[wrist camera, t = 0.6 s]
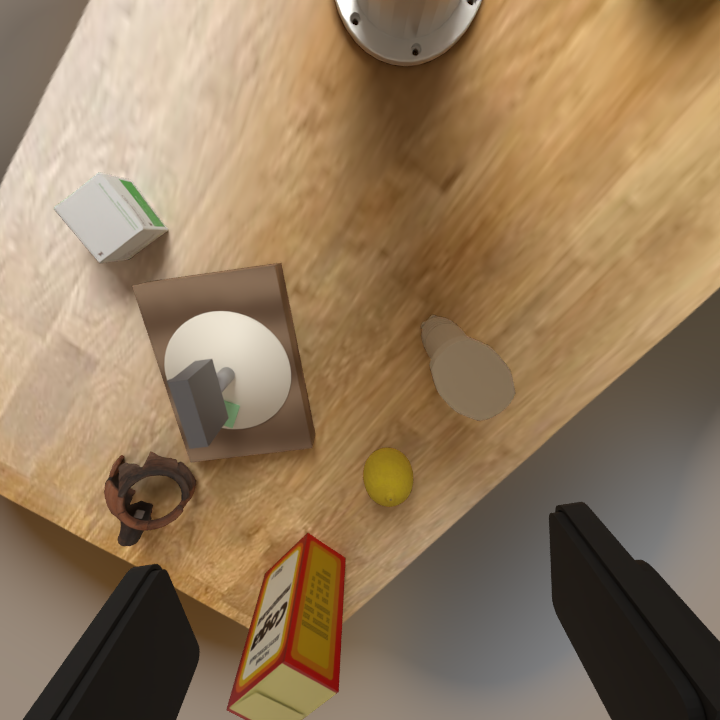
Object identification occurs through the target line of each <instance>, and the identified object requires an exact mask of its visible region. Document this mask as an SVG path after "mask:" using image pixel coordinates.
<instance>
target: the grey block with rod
mask: <svg viewBox="0 0 720 720" xmlns="http://www.w3.org/2000/svg"><path fill="white" fill-rule="evenodd" d="M234 377H235V373H234V371H233V370H232V369H231V368H228V367H224V368H222V369H221V370H220V371H219V372H218V373H216V371H215V367H214V364H213V360H212V359H206V360H199V361H194V362H193V363H192V364H190V365H189V366H188V367H187V368H185V369H184V370H183V371H181V372H180V373H179V374H178V375H176V376H175V377H174V378H172V379H168V380H167V383H168V387H169V388H170V391H171V394H172V397H173V400H174V403H175V406H176V409H177V412H178V415H179V418H180V421H181V424H182V427H183V430H184V433H185V436H186V440H187V443H188V446H189V449H193V448H201V447H208V446H209V445H210V444H211V442H212V441H213V439H214V438H215V437H216V435H217V434H218V432H219V431H220V430H221V428H222V427H223V425H224V424H225V423H226V421H227V420H228V418H229V417H228V413H227V410H226V406H225V403H224V399H223V396H222V392H223V391H224V390H225V388H226V387H227V386H228V385H229V384H230V383H231V382H232V380H233V379H234Z"/></svg>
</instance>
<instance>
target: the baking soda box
mask: <svg viewBox="0 0 720 720" xmlns="http://www.w3.org/2000/svg"><path fill="white" fill-rule="evenodd" d="M344 577H345V557H343V556H342V555H340V554H339V553H337V552H336V551H334V550H333V549H331V548H330V547H328V546H327V545H325V544H324V543H322V542H321V541H319V540H318V539H316V538H315V537H313V536H312V535H310V534H309V533H307V534H306V535H305V536H304V537H303V538H302V539H301V540H300V541H299V542H298V543H297V544H296V545H295V546H293V547H292V548H291V549H290V550H289V551H288V552H287V553H286V554H285V555H284V556H283V557H282V558H281V559H280V560H279V561H278V562H277V563H276V564H275V565H274V566H273V567H272V568H270V569H269V570H268V571H267V572H266V573H265V576H264V579H263V583H262V586H261V590H260V593H259V597H258V600H257V604H256V608H255V611H254V615H253V618H252V622H251V625H250V629H249V632H248V636H247V640H246V643H245V646H244V650H243V653H242V657H241V660H240V664H239V667H238V671H237V675H236V678H235V682H234V685H233V689H232V692H231V696H230V699H229V703H228V706H227V711H229V712H231V713H233V714H235V715H237V716H239V717H241V718H243V719H245V720H302V719H304V718H305V717H306V716H308V715H309V714H310V713H311V712H313V711H314V710H315V709H317V708H318V707H319V706H321V705H322V704H323V703H325V702H326V701H327V700H329V699H330V698H331V697H332V696H334V695H335V694H336V693H337V692H339V673H340V653H341V635H342V616H343V596H344Z"/></svg>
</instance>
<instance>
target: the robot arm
mask: <svg viewBox="0 0 720 720" xmlns="http://www.w3.org/2000/svg"><path fill="white" fill-rule="evenodd" d="M468 1H470V2H471V3H472V5H469V4H468V3H467V2H468ZM335 2H336V6H337V9H338V13H339V15H340V17H341V19H342V21H343V23H344V26H345V28H346V29H347V31H348V32H349V34H350V35H351V36H352V38H353V39H354V41H355V42H356V43H357V44H358V45H359V46H360V47H361V48H362V49H363V50H364V51H366V52H367V53H368V54H370V55H372V56H373V57H375V58H376V59H378V60H380V61H383V62H386V63H389V64H391V65H400V66H411V65H420V64H422V63H425V62H428V61H431V60H434V59H435V58H437V57H439V56H440V55H442V54H444V53H445V52H446V51H448V50H449V49H450V48H451V47H452V46H453V45H454V44H455V43H457V42H458V40H459V39H460V38H461V37H462V35H463V34H464V33H465V31H466V30H467V29H468V27H469V25H470V24H471V22H472V20H473V18H474V17H475V15H476V13H477V11H478V8H479V6H480V4H481V2H482V0H335ZM354 21H357V22H358V25H356V26H355V25H353V24H352V23H353V22H354ZM413 51H416V52H417V53H418V55H417V56H414V55H413V54H412V52H413ZM549 527H550V528H549V530H550V553H551V554H550V555H551V582H552V601H553V605H554V609H555V612H556V614H557V616H558V618H559V620H560V622H561V624H562V626H563V628H564V630H565V632H566V634H567V636H568V638H569V639H570V641H571V643H572V645H573V647H574V649H575V651H576V653H577V655H578V657H579V659H580V660H581V662H582V664H583V666H584V668H585V670H586V672H587V674H588V676H589V678H590V679H591V681H592V683H593V685H594V687H595V689H596V691H597V693H598V695H599V697H600V699H601V700H602V702H603V704H604V706H605V708H606V710H607V712H608V714H609V716H610V718H611V719H612V720H720V641H719V640H718V639H717V638H716V637H715V636H714V635H713V634H712V633H711V632H710V630H708V628H707V627H706V626H705V625H704V624H703V623H702V622H701V620H700V619H699V618H698V617H697V616H696V615H695V614H694V613H693V611H692V610H691V609H690V608H689V607H688V606H687V605H686V604H685V603H684V601H683V600H682V599H681V598H680V597H679V596H678V595H677V594H676V593H675V591H674V590H673V589H672V588H671V587H670V586H669V585H668V584H667V583H666V581H665V580H664V579H663V578H662V577H661V576H660V575H659V574H658V573H657V571H655V569H654V568H653V567H652V566H650V565H649V564H648V563H647V562H645V561H643V560H634V559H633V558H632V557H631V555H630V554H629V553H628V552H627V551H626V550H625V548H624V547H623V546H622V545H621V544H620V543H619V541H618V540H617V539H616V538H615V537H614V536H613V534H611V532H610V531H609V530H608V529H607V528H606V526H605V525H604V524H603V523H602V522H601V521H600V519H599V518H598V517H597V516H596V515H595V514H594V512H592V510H591V509H590V508H589V507H588V506H587V505H586V504H585V503H583V502H577V503H571V504H563V505H558V506H556V511H555V513H550V515H549ZM198 660H199V645H198V643H197V640H196V638H195V636H194V634H193V631H192V629H191V626H190V624H189V621H188V619H187V617H186V615H185V612H184V610H183V607H182V605H181V603H180V600H179V598H178V595H177V593H176V591H175V589H174V586H173V584H172V581H171V579H170V577H169V574H168V572H167V571H166V570H165V569H163V570H162V568H161V566H160V565H158V564H152V565H146V566H139V567H133V568H131V569H130V570H129V571H128V572H127V573H126V575H125V576H124V577H123V579H122V580H121V582H120V583H119V585H118V586H117V587H116V589H115V590H114V592H113V593H112V594H111V596H110V597H109V599H108V600H107V601H106V603H105V604H104V606H103V607H102V608H101V610H100V611H99V613H98V614H97V616H96V617H95V618H94V620H93V621H92V623H91V624H90V625H89V627H88V628H87V630H86V631H85V632H84V634H83V635H82V637H81V638H80V640H79V641H78V642H77V644H76V645H75V647H74V648H73V649H72V651H71V652H70V654H69V655H68V656H67V658H66V659H65V661H64V662H63V664H62V665H61V666H60V668H59V669H58V671H57V672H56V673H55V675H54V676H53V678H52V679H51V680H50V682H49V683H48V685H47V686H46V687H45V689H44V690H43V692H42V693H41V695H40V696H39V698H38V699H37V700H36V702H35V703H34V704H33V706H32V707H31V709H30V710H29V711H28V713H27V714H26V716H25V717H24V718H23V720H176V718H177V716H178V713H179V710H180V708H181V705H182V703H183V700H184V698H185V695H186V693H187V690H188V687H189V685H190V682H191V680H192V677H193V675H194V672H195V669H196V667H197V664H198Z"/></svg>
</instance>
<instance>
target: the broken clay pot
mask: <svg viewBox="0 0 720 720" xmlns="http://www.w3.org/2000/svg"><path fill="white" fill-rule="evenodd" d="M123 458H124V456H123V455H121V456H120V457H119V458H118V459H117V460H116V462H115V463H114V464H113V466H112V469H111V471H110V475H109V478H108V480H107V481H106V483H105V490H104V494H105V499H106V503H107V506H108V508H109V510H110V511H111V513H112V514H113V515H115V516H116V517H117V518H118V519H119V520H120V521H121V530H120V534H119V536H118V543H119V544H120V545H121V546H132V545H134V544H136V543H137V542H138V540H139V539H140V537H141V535H142V533H143V531H144V530H152V529H157V528H160V527H163V526H166V525H168V524H169V523H171V522H173V521H174V520H175V519H177V518H178V517H179V516H180V514H181V513H182V512H183V508H184V506H185V505H186V503H187V502H188V501H189V500H190V499H191V498H192V495H193V493H194V490H195V486H196V480H195V478H194V476H193V474H192V473H191V471H190V470H189V468H188V467H187V466H186V465H185V464H184V463H182V462H179V463H177V460H175V459H172V458H164V457H161V456H158V455H157V454H155V453H153V452H150V454H149V456H148V458H147V460H146V462H145V464H144V466H143V467H140V466H139V465H137V464H128V463H123V464H122V465H120V464H121V462H122V460H123ZM156 475H162V476H168V477H170V478H172V479H174V480H175V481H176V482H177V483H178V484H179V486H180V488H181V492H182V497H181V498H182V500H181V502H180V504H179V505H178V506H177V507H176V508H175V509H174V510H173V511H172V512H170V513H169V514H168V515H166V516H164V517H162V518H159V519H156V520H151V513H152V507H153V504H151V503H146V502H143V501H140V502H138V503H134V504H131V505H130V502H131V500H132V496H133V495H134V493H135V490H133V489H131V486H133V485H134V484H135V483H136V482H138V481H139V480H141V479H143V478H145V477H148V476H156Z"/></svg>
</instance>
